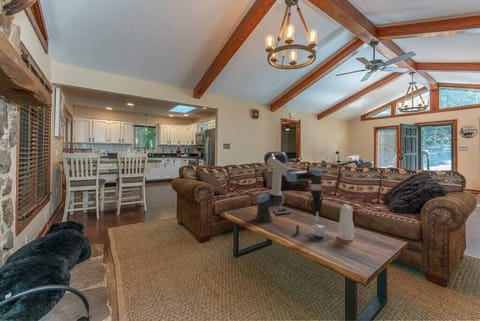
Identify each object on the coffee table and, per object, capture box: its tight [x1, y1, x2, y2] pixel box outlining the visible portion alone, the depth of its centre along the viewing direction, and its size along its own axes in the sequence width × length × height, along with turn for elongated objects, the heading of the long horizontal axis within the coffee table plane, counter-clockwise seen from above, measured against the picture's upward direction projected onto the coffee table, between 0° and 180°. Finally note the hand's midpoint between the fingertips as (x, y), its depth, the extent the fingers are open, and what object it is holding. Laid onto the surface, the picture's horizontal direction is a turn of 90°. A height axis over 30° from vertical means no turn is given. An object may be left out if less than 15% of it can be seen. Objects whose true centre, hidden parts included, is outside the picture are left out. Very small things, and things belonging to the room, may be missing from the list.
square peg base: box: [304, 226, 334, 244], centre depth 163 cm, size 14×14×9 cm
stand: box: [293, 224, 302, 237], centre depth 168 cm, size 6×6×8 cm
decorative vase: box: [337, 203, 355, 241], centre depth 163 cm, size 11×11×25 cm
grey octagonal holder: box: [312, 223, 326, 236], centre depth 163 cm, size 8×8×6 cm
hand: (316, 220), depth 165 cm, fingers closed
